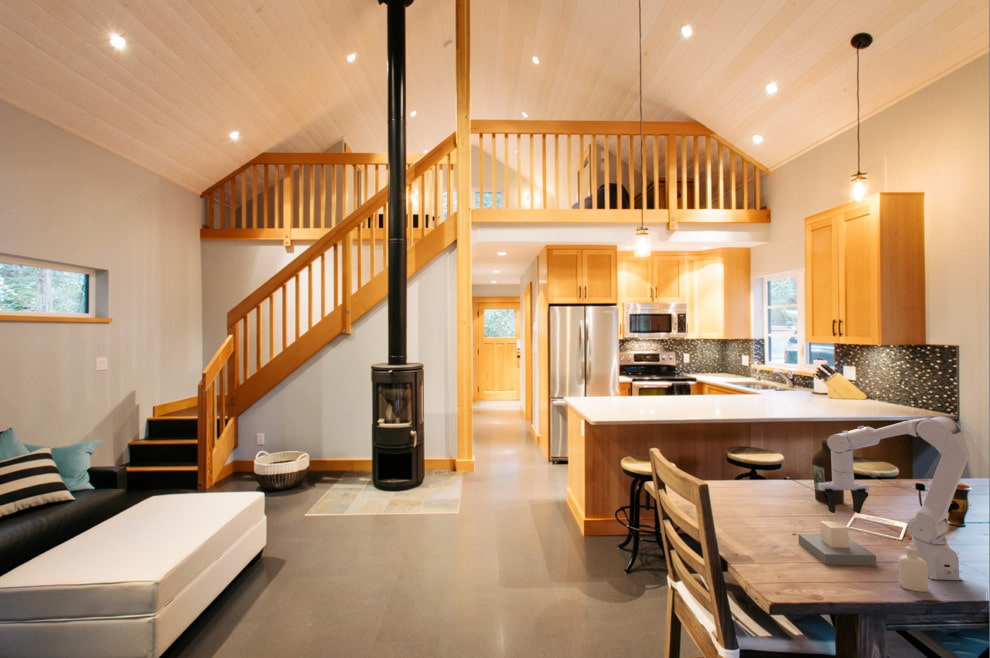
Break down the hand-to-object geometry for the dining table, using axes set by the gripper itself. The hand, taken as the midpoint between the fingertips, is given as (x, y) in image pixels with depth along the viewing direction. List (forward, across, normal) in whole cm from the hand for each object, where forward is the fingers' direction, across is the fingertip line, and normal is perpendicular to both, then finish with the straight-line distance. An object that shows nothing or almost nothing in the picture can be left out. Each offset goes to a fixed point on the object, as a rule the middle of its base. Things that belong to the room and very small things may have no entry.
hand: (844, 512), depth 147 cm
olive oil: (+10, -18, -39) cm, 44 cm away
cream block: (+7, +8, +8) cm, 13 cm away
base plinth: (+10, +8, +8) cm, 15 cm away
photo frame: (+11, -19, -14) cm, 26 cm away
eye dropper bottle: (+10, 0, +27) cm, 29 cm away
